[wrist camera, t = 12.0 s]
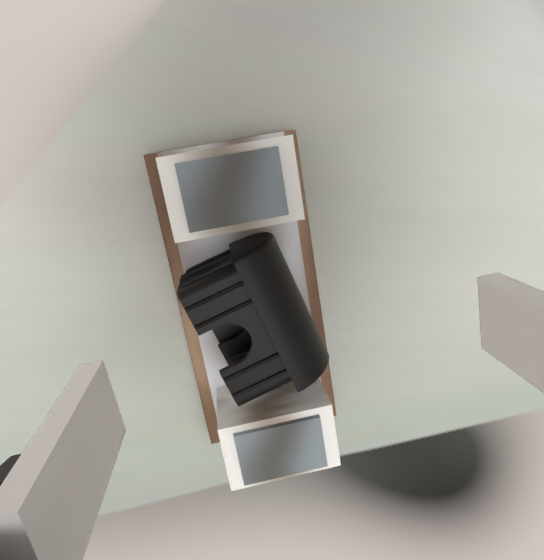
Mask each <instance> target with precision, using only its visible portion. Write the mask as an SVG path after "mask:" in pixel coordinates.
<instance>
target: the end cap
mask: <svg viewBox="0 0 544 560" xmlns="http://www.w3.org/2000/svg"><path fill="white" fill-rule="evenodd" d="M229 248H230V249H228V250H226V251H224V252H222V253H220V254H218V255H215V256H213V257H211V258H209V259H207V260H205V261H203V262H201V263H199V264H197V265H195V266H192V267H190V268H189V269H187V270H186V272H185V274H183V275H181V277H180V281H179V282H180V284H179V286H178V288H177V296H178V298H179V300H180V302H181V304H182V306H183V308H184V310H185V312H186V313H187V315H188V317H189V319H190V321H191V322H192V324H193V326H194V328H195V330H196V332H197V333H198V335H199V336H200V335H202V334H204V333H206V332H208V331H210V330H212V331H213V332H214V334H215V336H216V338H217V340H218V342H219V344H218V347H219V349H220V351H221V352H222V354H223V356H224V358H225V360H226V362H227V364H228V365H229V366H227V367H224V368H222V369H220V370H219V373H220V375H221V377H222V379H223V380H224V382H225V384H226V386H227V388H228V390H229V391H230V393H231V395H232V397H233V399H234V400H235V402H236V404H237V405H238V406H241V405H243V404H245V403H247V402H249V401H251V400H253V399H255V398H257V397H259V396H262V395H264V394H266V393H268V392H270V391H272V390H274V389H276V388H278V387H280V386H282V385H284V384H286V383H288V382H291V381H292V382H293V384H294V386H295V388H296V390H297V392H300V391H302V390H304V389H305V388H307V387H308V386H310V385H311V384H313V383H314V382H315V381H316V380H317V379H318V378H319V377H320V376H321V375H322V374H323V373H324V371H325V369H326V368H327V365H328V362H329V355H328V352H327V350H326V348H325V346H324V343H323V341H322V339H321V337H320V335H319V332H318V330H317V328H316V326H315V324H314V322H313V319H312V317H311V315H310V313H309V311H308V309H307V306H306V304H305V302H304V300H303V298H302V295H301V293H300V291H299V289H298V287H297V285H296V282H295V280H294V278H293V276H292V274H291V272H290V269H289V267H288V265H287V263H286V261H285V258H284V256H283V254H282V252H281V250H280V248H279V245H278V243H277V241H276V239H275V237H274V235H273V234H272V233H270V232H261V233H256V234H253V235H250V236H247V237H244V238H242V239H239V240H237V241H234V242H232V243H230V244H229Z"/></svg>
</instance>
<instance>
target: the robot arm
mask: <svg viewBox="0 0 544 560" xmlns="http://www.w3.org/2000/svg"><path fill="white" fill-rule="evenodd" d="M477 281H478V298H479V315H480V332H481V348H482V349H484V350H485V351H487V352H488V353H489V354H491V355H492V356H493V357H495V358H496V359H498V360H499V361H500V362H502V363H503V364H504V365H506V366H507V367H508V368H510V369H511V370H513V371H514V372H515V373H517V374H518V375H519V376H521V377H522V378H524V379H525V380H526V381H528V382H529V383H530V384H532V385H533V386H534V387H536V388H537V389H539V390H540V391H541V392H543V393H544V291H541V290H539V289H536V288H534V287H532V286H529V285H527V284H524V283H522V282H520V281H517V280H515V279H512V278H510V277H508V276H505V275H503V274H501V273H493V274H489V275H484V276H480V277H477ZM125 431H126V429H125V426H124V423H123V420H122V417H121V414H120V411H119V408H118V405H117V402H116V399H115V396H114V393H113V390H112V387H111V384H110V381H109V378H108V375H107V372H106V368H105V365H104V362H103V360H101V361H97V362H92V363H88V364H83V365H80V366H79V367H78V369H77V370H76V372H75V373H74V375H73V376H72V378H71V379H70V381H69V382H68V384H67V385H66V387H65V388H64V390H63V391H62V393H61V394H60V396H59V397H58V399H57V401H56V402H55V404H54V405H53V407H52V408H51V410H50V411H49V413H48V414H47V416H46V417H45V419H44V420H43V422H42V423H41V425H40V426H39V428H38V429H37V431H36V433H35V434H34V436H33V437H32V439H31V440H30V442H29V443H28V445H27V446H26V448H25V449H24V451H23V452H22V454H18V455H14V456H11V457H10V458H9V459H7V460H6V461H5V462H4V463H3V464H2V465H1V466H0V560H83V557H84V554H85V551H86V548H87V545H88V542H89V539H90V536H91V533H92V530H93V527H94V524H95V521H96V518H97V515H98V512H99V509H100V506H101V503H102V500H103V497H104V494H105V491H106V488H107V485H108V482H109V479H110V476H111V473H112V470H113V467H114V464H115V461H116V458H117V455H118V452H119V449H120V446H121V443H122V440H123V437H124V434H125Z"/></svg>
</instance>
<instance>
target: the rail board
mask: <svg viewBox="0 0 544 560" xmlns="http://www.w3.org/2000/svg"><path fill="white" fill-rule="evenodd" d="M144 158H145V163H146V167H147V171H148V175H149V180H150V184H151V188H152V192H153V197H154V201H155V205H156V209H157V214H158V218H159V222H160V227H161V231H162V235H163V239H164V244H165V248H166V252H167V256H168V261H169V265H170V269H171V273H172V278H173V282H174V286H175V290H176V295H177V288H178V286H179V284H180V282H179V281H180V277H181V275H183V274H185V272H186V270H187V269H189V268H190V267H192V266H195V265H197V264H199V263H201V262H203V261H205V260H207V259H209V258H211V257H213V256H215V255H218V254H220V253H222V252H224V251H226V250H228V249H230V248H229V244H230V243H232V242H234V241H237V240H239V239H242V238H244V237H247V236H250V235H253V234H256V233H261V232H270V233H272V234H273V235H274V237H275V239H276V241H277V243H278V245H279V248H280V250H281V252H282V254H283V256H284V258H285V261H286V263H287V265H288V267H289V269H290V272H291V274H292V276H293V278H294V280H295V282H296V285H297V287H298V289H299V291H300V293H301V295H302V298H303V300H304V302H305V304H306V306H307V309H308V311H309V313H310V315H311V317H312V319H313V322H314V324H315V326H316V328H317V330H318V332H319V335H320V337H321V339H322V341H323V343H324V346H325V348H326V341H325V334H324V327H323V320H322V313H321V306H320V299H319V292H318V285H317V278H316V271H315V264H314V257H313V250H312V243H311V236H310V229H309V222H308V215H307V208H306V201H305V194H304V187H303V180H302V173H301V166H300V159H299V152H298V145H297V138H296V131H295V130H290V131H281V132H275V133H269V134H263V135H258V136H252V137H246V138H240V139H234V140H228V141H222V142H216V143H210V144H204V145H198V146H192V147H186V148H180V149H174V150H168V151H162V152H157V153H153V154H147V155H144ZM177 299H178V303H179V308H180V312H181V316H182V320H183V325H184V329H185V333H186V337H187V342H188V346H189V350H190V354H191V359H192V363H193V367H194V371H195V376H196V380H197V384H198V388H199V393H200V397H201V401H202V406H203V410H204V414H205V418H206V423H207V427H208V431H209V435H210V440H211V444H213V443H217V442H220V444H221V448H222V452H223V457H224V461H225V465H226V470H227V474H228V479H229V483H230V487H231V491H233V490H238V489H242V488H246V487H251V486H255V485H259V484H263V483H268V482H272V481H276V480H280V479H284V478H289V477H293V476H297V475H301V474H306V473H310V472H314V471H319V470H323V469H327V468H331V467H336V466H340V465H341V464H340V457H339V450H338V443H337V436H336V429H335V422H334V416H336V410H335V403H334V396H333V389H332V382H331V376H330V369H329V362H328V365H327V368H326V369H325V371H324V373H323V374H322V375H321V376H320V377H319V378H318V379H317V380H316V381H315V382H314V383H313V384H311V385H310V386H308V387H307V388H305V389H304V390H302V391H300V392H297V390H296V388H295V386H294V384H293V382H292V381H291V382H288V383H286V384H284V385H282V386H280V387H278V388H276V389H274V390H272V391H270V392H268V393H266V394H264V395H262V396H259V397H257V398H255V399H253V400H251V401H249V402H247V403H245V404H243V405H241V406H238V405H237V404H236V402H235V400H234V399H233V397H232V395H231V393H230V391H229V390H228V388H227V386H226V384H225V382H224V380H223V379H222V377H221V375H220V373H219V370H220V369H222V368H224V367H227V366H229V365H228V364H227V362H226V360H225V358H224V356H223V354H222V352H221V351H220V349H219V347H218V344H219V342H218V340H217V338H216V336H215V334H214V332H213V331H212V330H210V331H208V332H206V333H204V334H202V335H200V336H199V335H198V333H197V332H196V330H195V328H194V326H193V324H192V322H191V321H190V319H189V317H188V315H187V313H186V312H185V310H184V308H183V306H182V304H181V302H180V300H179V298H178V296H177ZM326 350H327V348H326Z"/></svg>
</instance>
